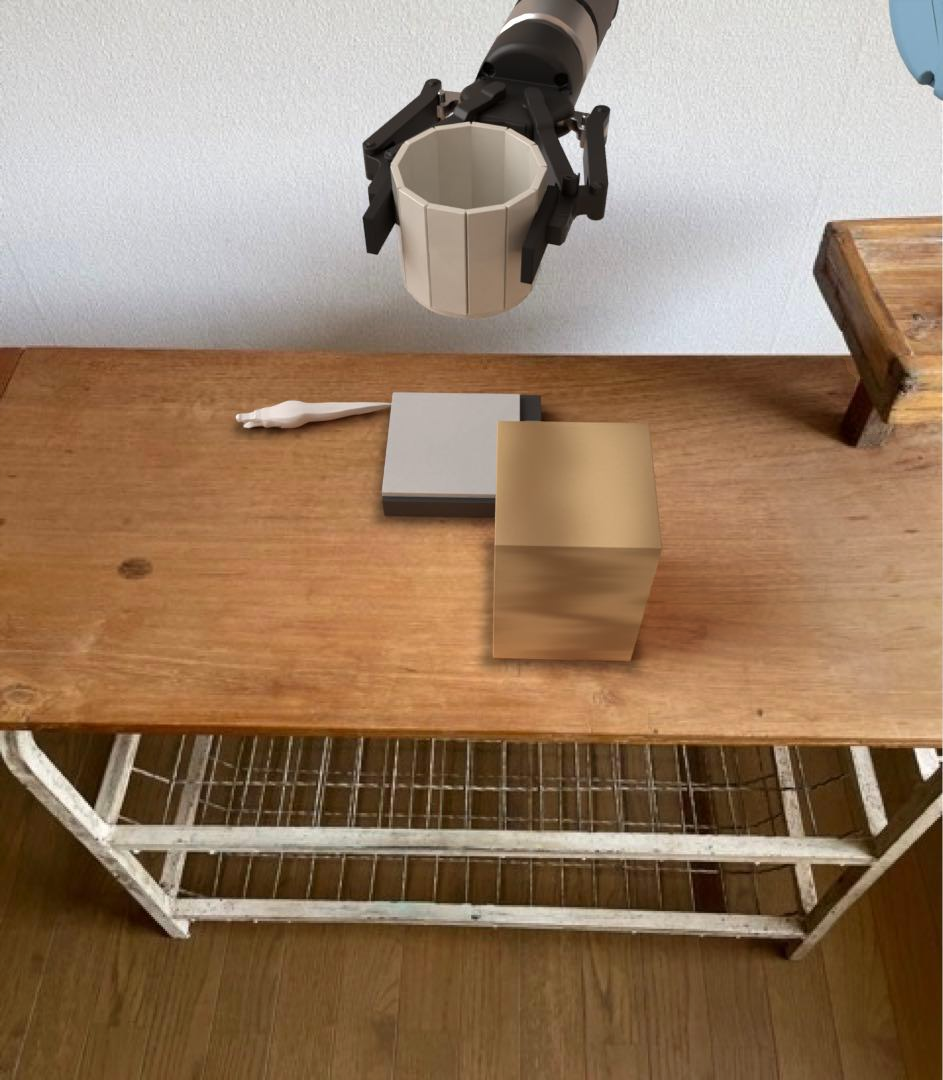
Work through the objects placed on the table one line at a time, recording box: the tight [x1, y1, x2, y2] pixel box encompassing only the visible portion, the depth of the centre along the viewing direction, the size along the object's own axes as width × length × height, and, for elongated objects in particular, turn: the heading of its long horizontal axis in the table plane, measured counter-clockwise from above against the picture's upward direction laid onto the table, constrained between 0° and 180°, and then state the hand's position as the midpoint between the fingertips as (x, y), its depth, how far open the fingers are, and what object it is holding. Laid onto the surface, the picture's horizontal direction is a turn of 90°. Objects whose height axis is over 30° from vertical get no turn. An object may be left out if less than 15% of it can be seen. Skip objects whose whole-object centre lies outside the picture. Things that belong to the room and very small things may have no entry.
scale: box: [381, 391, 542, 519], centre depth 84 cm, size 14×13×3 cm
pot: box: [390, 122, 547, 320], centre depth 61 cm, size 10×10×8 cm
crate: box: [492, 421, 663, 662], centre depth 70 cm, size 11×11×16 cm
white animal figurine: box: [235, 400, 392, 429], centre depth 87 cm, size 15×3×2 cm, turn 98°
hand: (447, 251), depth 57 cm, fingers closed on pot, 10 cm apart
